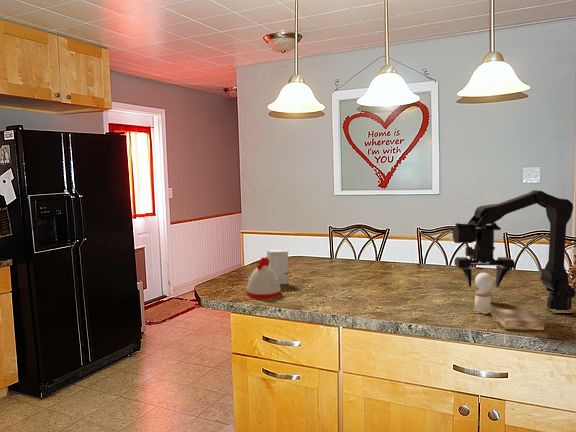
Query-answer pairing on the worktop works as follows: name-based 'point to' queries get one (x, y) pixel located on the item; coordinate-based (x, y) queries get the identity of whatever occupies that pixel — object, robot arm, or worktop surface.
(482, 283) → the lightbulb
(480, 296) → the spice tin
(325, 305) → the worktop surface
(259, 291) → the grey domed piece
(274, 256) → the skincare box
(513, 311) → the block
